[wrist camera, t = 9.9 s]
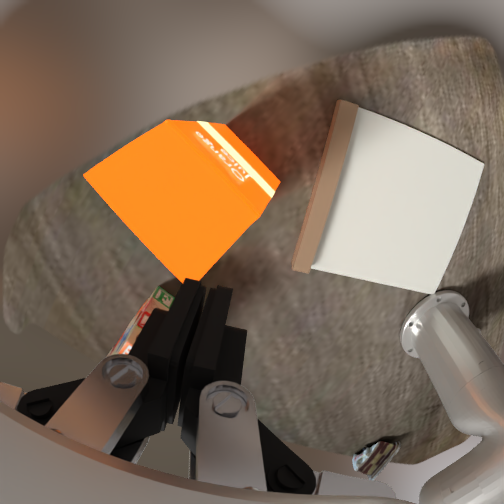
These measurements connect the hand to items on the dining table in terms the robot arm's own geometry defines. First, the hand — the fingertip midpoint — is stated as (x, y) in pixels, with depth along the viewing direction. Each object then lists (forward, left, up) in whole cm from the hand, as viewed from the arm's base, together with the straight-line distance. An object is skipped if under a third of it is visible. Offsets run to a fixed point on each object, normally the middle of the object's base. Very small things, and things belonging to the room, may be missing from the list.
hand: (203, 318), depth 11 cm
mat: (-20, -1, -26) cm, 33 cm away
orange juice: (+2, 0, -25) cm, 25 cm away
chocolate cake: (-42, +46, -28) cm, 69 cm away
